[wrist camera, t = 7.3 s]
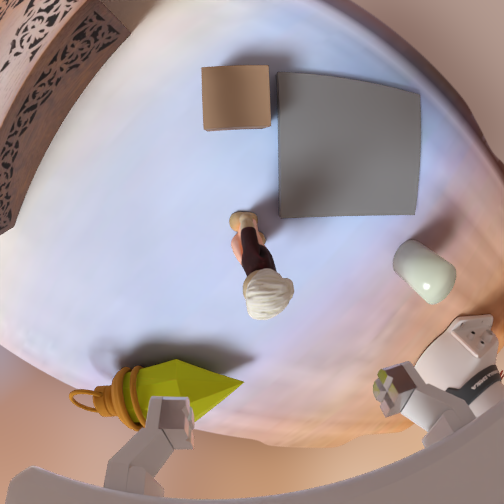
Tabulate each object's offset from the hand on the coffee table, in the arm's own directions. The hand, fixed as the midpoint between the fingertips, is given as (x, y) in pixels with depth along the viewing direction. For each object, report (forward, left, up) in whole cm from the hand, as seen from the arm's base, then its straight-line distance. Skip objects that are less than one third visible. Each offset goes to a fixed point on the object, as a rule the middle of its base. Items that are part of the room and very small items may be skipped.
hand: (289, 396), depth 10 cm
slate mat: (-11, -9, -19) cm, 24 cm away
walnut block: (+1, -13, -19) cm, 23 cm away
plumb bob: (+14, +19, -19) cm, 31 cm away
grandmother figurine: (0, 0, -19) cm, 19 cm away
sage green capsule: (-20, +4, -19) cm, 28 cm away
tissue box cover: (+25, -18, -20) cm, 36 cm away
